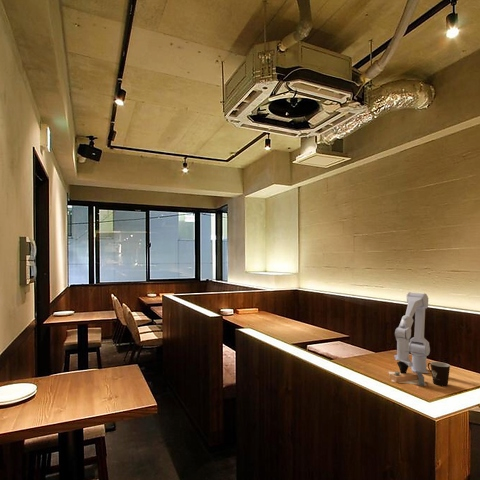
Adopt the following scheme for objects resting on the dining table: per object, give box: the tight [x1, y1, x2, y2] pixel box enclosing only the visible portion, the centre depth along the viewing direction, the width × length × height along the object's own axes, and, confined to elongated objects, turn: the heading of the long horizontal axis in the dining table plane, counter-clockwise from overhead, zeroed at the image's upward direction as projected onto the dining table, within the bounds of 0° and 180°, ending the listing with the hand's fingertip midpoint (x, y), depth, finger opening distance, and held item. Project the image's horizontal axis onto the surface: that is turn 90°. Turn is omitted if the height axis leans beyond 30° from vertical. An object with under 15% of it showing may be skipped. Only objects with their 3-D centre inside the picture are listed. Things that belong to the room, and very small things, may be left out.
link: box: [389, 372, 418, 383], centre depth 179 cm, size 15×5×2 cm, turn 103°
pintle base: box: [388, 371, 427, 386], centre depth 181 cm, size 16×16×4 cm
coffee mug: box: [427, 361, 451, 388], centre depth 174 cm, size 12×9×10 cm
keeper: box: [416, 371, 425, 387], centre depth 174 cm, size 9×2×4 cm, turn 162°
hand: (403, 376), depth 181 cm, fingers closed, pressing on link
